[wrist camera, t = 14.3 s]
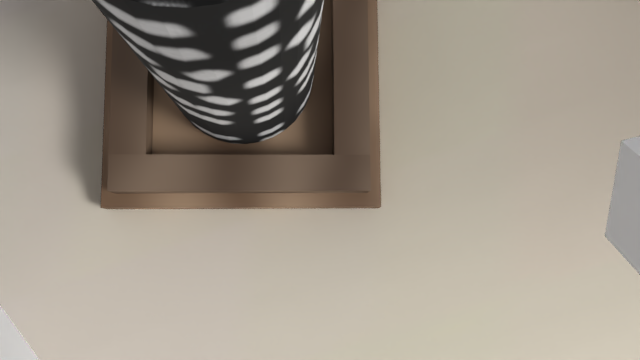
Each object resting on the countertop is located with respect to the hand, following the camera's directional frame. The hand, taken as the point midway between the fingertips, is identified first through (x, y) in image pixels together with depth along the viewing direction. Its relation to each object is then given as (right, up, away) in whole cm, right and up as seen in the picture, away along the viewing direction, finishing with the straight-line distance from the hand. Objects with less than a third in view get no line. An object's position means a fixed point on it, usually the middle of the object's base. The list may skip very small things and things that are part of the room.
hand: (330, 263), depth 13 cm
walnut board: (-5, +8, +24) cm, 26 cm away
